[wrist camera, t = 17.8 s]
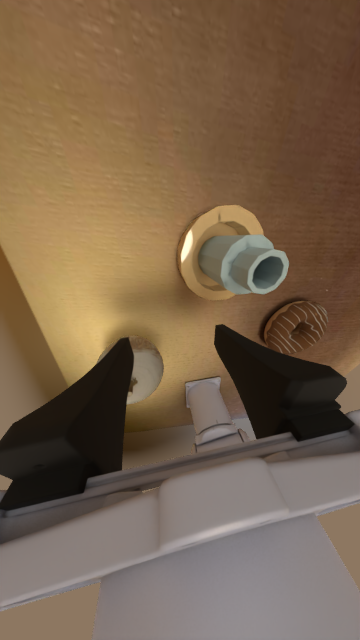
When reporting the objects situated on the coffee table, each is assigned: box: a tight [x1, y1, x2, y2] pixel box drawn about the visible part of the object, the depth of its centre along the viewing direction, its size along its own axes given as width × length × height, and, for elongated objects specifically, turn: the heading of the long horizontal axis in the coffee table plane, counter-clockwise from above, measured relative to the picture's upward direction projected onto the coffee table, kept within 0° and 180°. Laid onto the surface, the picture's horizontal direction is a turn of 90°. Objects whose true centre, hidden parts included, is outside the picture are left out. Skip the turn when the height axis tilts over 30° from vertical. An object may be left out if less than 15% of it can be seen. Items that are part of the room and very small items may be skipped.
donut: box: [264, 301, 328, 354], centre depth 25 cm, size 11×11×4 cm
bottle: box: [198, 235, 289, 294], centre depth 14 cm, size 5×5×10 cm
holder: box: [177, 205, 264, 301], centre depth 18 cm, size 10×10×3 cm
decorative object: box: [97, 335, 164, 404], centre depth 20 cm, size 9×9×10 cm
